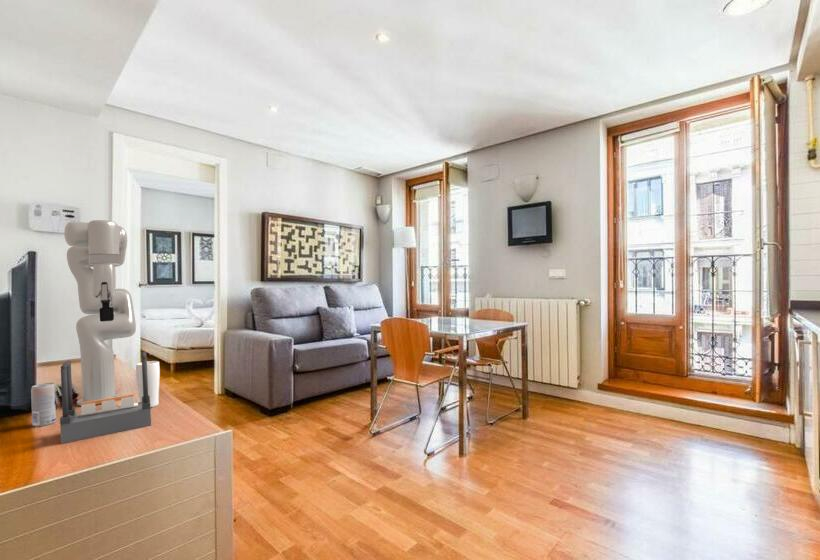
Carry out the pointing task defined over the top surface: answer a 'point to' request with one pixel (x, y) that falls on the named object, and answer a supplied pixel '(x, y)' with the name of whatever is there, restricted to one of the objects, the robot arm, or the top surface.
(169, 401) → the top surface
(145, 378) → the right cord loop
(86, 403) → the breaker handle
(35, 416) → the energy drink
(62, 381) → the dark gray upright panel
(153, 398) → the white cylinder
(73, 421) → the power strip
